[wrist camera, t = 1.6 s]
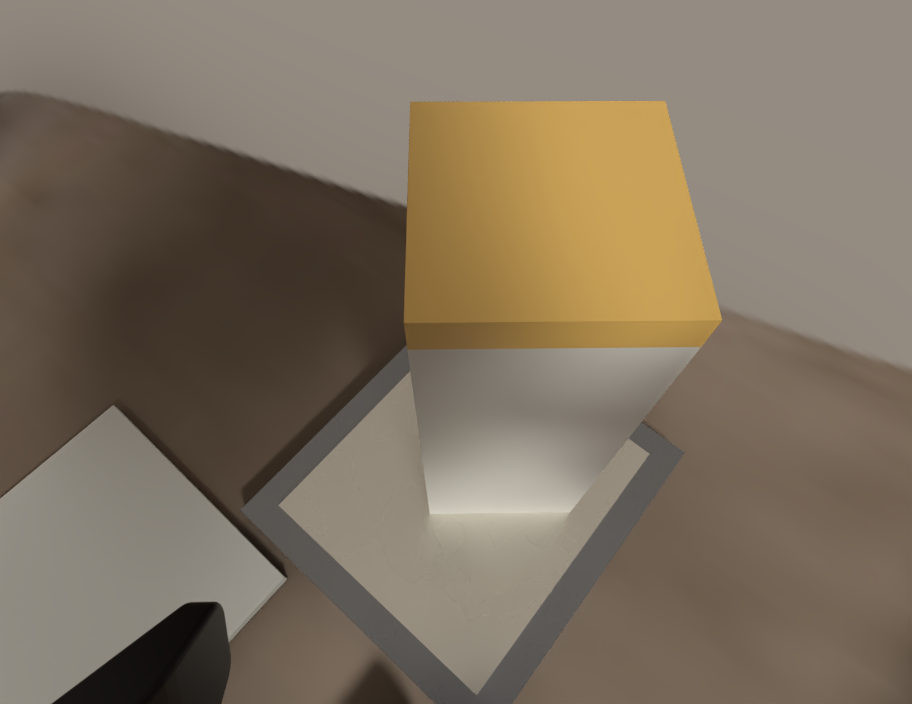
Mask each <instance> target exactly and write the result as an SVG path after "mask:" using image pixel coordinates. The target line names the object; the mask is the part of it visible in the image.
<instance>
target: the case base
mask: <svg viewBox="0 0 912 704" xmlns="http://www.w3.org/2000/svg"><path fill="white" fill-rule="evenodd" d="M683 454H684V452H683V451H682V450H680V449H679V448H677V447H676V446H675V445H673V444H672V443H670V442H669V441H667V440H666V439H665V438H663V437H662V436H660V435H659V434H658V433H656V432H655V431H653V430H652V429H651V428H649V427H648V426H646V425H645V424H644V423H642V422H641V423H640V425H639V426H638V427H637V428H636V430H635V431H634V432H633V433H632V435H631V436H630V437H629V438H628V440H627V441H626V442H625V444H624V445H623V446H622V447H621V449H620V450H619V451H618V452H617V454H616V455H615V456H614V457H613V459H612V460H611V461H610V462H609V464H608V465H607V466H606V467H605V469H604V470H603V471H602V473H601V474H600V475H599V476H598V478H597V479H596V480H595V481H594V483H593V484H592V485H591V486H590V488H589V489H588V490H587V491H586V493H585V494H584V495H583V496H582V498H581V499H580V500H579V502H578V503H577V504H576V505H575V507H574V508H573V509H572V510H571V512H537V513H463V514H430V513H429V506H428V498H427V491H426V483H425V476H424V469H423V461H422V454H421V447H420V439H419V432H418V424H417V417H416V410H415V402H414V395H413V388H412V380H411V373H410V365H409V358H408V351H407V345H406V346H405V347H404V348H403V349H402V350H401V351H400V352H399V353H398V354H397V355H396V356H395V357H394V358H393V359H392V360H391V361H390V362H389V363H388V364H387V365H386V366H385V367H384V368H383V369H382V370H381V371H380V372H379V373H378V374H377V375H376V376H375V377H374V378H373V379H372V380H371V381H370V382H369V383H368V384H367V385H366V386H365V387H364V388H363V389H362V390H361V391H360V392H359V393H358V394H357V395H356V396H355V397H354V398H353V399H352V400H351V401H350V402H349V403H348V404H347V405H346V406H344V407H343V408H342V409H341V410H340V411H339V412H338V413H337V414H336V415H335V416H334V417H333V418H332V419H331V420H330V421H329V422H328V423H327V424H326V425H325V426H324V427H323V428H322V429H321V430H320V431H319V432H318V433H317V434H316V435H315V436H314V437H313V438H312V439H311V440H310V441H309V442H308V443H307V444H306V445H305V446H304V447H303V448H302V449H301V450H300V451H299V452H298V453H297V454H296V455H295V456H294V457H293V458H292V459H291V460H290V461H289V462H288V463H287V464H286V465H285V466H284V467H283V468H282V469H281V470H280V471H279V472H278V473H277V474H276V475H275V476H274V477H273V478H272V479H271V480H270V481H269V482H268V483H267V484H266V485H265V486H264V487H263V488H262V489H261V490H260V491H259V492H258V493H257V494H256V495H255V496H254V497H253V498H252V499H251V500H250V501H249V502H248V503H247V504H246V505H245V506H244V507H243V508H242V509H241V511H242V512H243V513H244V514H245V515H246V516H247V517H248V518H249V519H250V520H251V521H252V522H253V523H254V524H255V525H256V526H257V527H258V528H259V529H260V530H261V531H262V532H263V533H264V534H265V535H266V536H267V537H268V538H269V539H270V540H271V541H272V542H273V543H274V544H275V545H276V546H277V547H278V548H279V549H280V550H281V551H282V552H283V553H284V554H285V555H286V556H287V557H288V558H289V559H290V560H291V561H292V562H293V563H294V564H295V565H296V566H297V567H298V568H299V569H300V570H301V571H302V572H303V573H304V574H305V575H306V576H307V577H308V578H309V579H310V580H311V581H312V582H313V583H314V584H315V585H316V586H317V587H318V588H319V589H320V590H321V591H322V592H323V593H324V594H325V595H326V596H327V597H328V598H329V599H330V600H331V601H332V602H333V603H334V604H335V605H336V606H337V607H338V608H339V609H340V610H342V611H343V612H344V613H345V614H346V615H347V616H348V617H349V618H350V619H351V620H352V621H353V622H354V623H355V624H356V625H357V626H358V627H359V628H360V629H361V630H362V631H363V632H364V633H365V634H366V635H367V636H368V637H369V638H370V639H371V640H372V641H373V642H374V643H375V644H376V645H377V646H378V647H379V648H380V649H381V650H382V651H383V652H384V653H385V654H386V655H387V656H388V657H389V658H390V659H391V660H392V661H393V662H394V663H395V664H396V665H397V666H398V667H399V668H400V669H401V670H402V671H403V672H404V673H405V674H406V675H407V676H408V677H409V678H410V679H411V680H412V681H413V682H414V683H415V684H416V685H417V686H418V687H419V688H420V689H421V690H422V691H423V692H424V693H425V694H426V695H427V696H428V697H429V698H430V699H431V700H432V701H433V702H434V703H435V704H512V703H513V701H514V700H515V699H516V697H517V696H518V694H519V693H520V691H521V690H522V688H523V687H524V685H525V684H526V683H527V681H528V680H529V678H530V677H531V675H532V674H533V672H534V671H535V669H536V668H537V667H538V665H539V664H540V662H541V661H542V659H543V658H544V656H545V655H546V653H547V652H548V651H549V649H550V648H551V646H552V645H553V643H554V642H555V640H556V639H557V637H558V636H559V635H560V633H561V632H562V630H563V629H564V627H565V626H566V624H567V623H568V621H569V620H570V619H571V617H572V616H573V614H574V613H575V611H576V610H577V608H578V607H579V605H580V604H581V603H582V601H583V600H584V598H585V597H586V595H587V594H588V592H589V591H590V589H591V588H592V587H593V585H594V584H595V582H596V581H597V579H598V578H599V576H600V575H601V573H602V572H603V571H604V569H605V568H606V566H607V565H608V563H609V562H610V560H611V559H612V557H613V556H614V555H615V553H616V552H617V550H618V549H619V547H620V546H621V544H622V543H623V541H624V540H625V539H626V537H627V536H628V534H629V533H630V531H631V530H632V528H633V527H634V525H635V524H636V523H637V521H638V520H639V518H640V517H641V515H642V514H643V512H644V511H645V509H646V508H647V507H648V505H649V504H650V502H651V501H652V499H653V498H654V496H655V495H656V493H657V492H658V491H659V489H660V488H661V486H662V485H663V483H664V482H665V480H666V479H667V478H668V476H669V475H670V473H671V472H672V470H673V469H674V467H675V466H676V464H677V463H678V462H679V460H680V459H681V457H682V456H683Z"/></svg>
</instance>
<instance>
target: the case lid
mask: <svg viewBox="0 0 912 704" xmlns="http://www.w3.org/2000/svg"><path fill="white" fill-rule="evenodd" d="M286 580H287V578H286V577H285V576H284V575H283V574H282V573H281V572H280V571H279V570H278V569H277V568H276V567H275V566H274V565H273V564H272V563H271V562H270V561H269V560H268V559H267V558H266V557H265V556H264V555H263V554H262V553H261V552H260V551H259V550H258V549H257V548H256V547H255V546H254V545H253V544H252V543H251V542H250V541H249V540H248V539H247V538H246V537H245V536H244V535H243V534H242V533H241V532H240V531H239V530H238V529H237V528H236V527H235V526H234V525H233V524H232V523H231V522H230V521H229V520H228V519H227V518H226V517H225V516H224V515H223V514H222V513H221V512H220V511H219V510H218V509H217V508H216V507H215V506H214V505H213V504H212V503H211V502H210V501H209V500H208V499H207V497H206V496H205V495H204V494H203V493H202V492H201V491H200V490H199V489H198V488H197V487H196V486H195V485H194V484H193V483H192V482H191V481H190V480H189V479H188V478H187V477H186V476H185V475H184V474H183V473H182V472H181V471H180V470H179V469H178V468H177V467H176V466H175V465H174V464H173V463H172V462H171V461H170V460H169V459H168V458H167V457H166V456H165V455H164V454H163V453H162V452H161V451H160V450H159V449H158V448H157V447H156V446H155V445H154V444H153V443H152V442H151V441H150V440H149V439H148V438H147V437H146V436H145V435H144V434H143V433H142V432H141V431H140V430H139V429H138V428H137V427H136V426H135V425H134V424H133V423H132V422H131V421H130V420H129V419H128V418H127V417H126V416H125V415H124V414H123V413H122V412H121V411H120V410H119V409H118V408H117V407H115V406H114V405H113V406H111V407H110V408H109V409H108V410H107V411H105V412H104V413H103V414H102V415H101V416H99V417H98V418H97V419H96V420H95V421H93V422H92V423H91V424H90V425H88V426H87V427H86V428H85V429H84V430H82V431H81V432H80V433H79V434H78V435H76V436H75V437H74V438H73V439H72V440H70V441H69V442H68V443H67V444H66V445H64V446H63V447H62V448H61V449H60V450H58V451H57V452H56V453H55V454H53V455H52V456H51V457H50V458H49V459H47V460H46V461H45V462H44V463H43V464H41V465H40V466H39V467H38V468H37V469H35V470H34V471H33V472H32V473H31V474H29V475H28V476H27V477H26V478H25V479H23V480H22V481H21V482H20V483H18V484H17V485H16V486H15V487H14V488H12V489H11V490H10V491H9V492H8V493H6V494H5V495H4V496H3V497H2V498H0V704H52V703H53V702H54V701H56V700H57V699H58V698H60V697H61V696H62V695H64V694H65V693H66V692H68V691H69V690H70V689H71V688H73V687H74V686H75V685H77V684H78V683H79V682H81V681H82V680H83V679H85V678H86V677H87V676H89V675H90V674H91V673H93V672H94V671H95V670H97V669H98V668H99V667H101V666H102V665H103V664H105V663H106V662H107V661H109V660H110V659H111V658H113V657H114V656H115V655H117V654H118V653H119V652H121V651H122V650H123V649H125V648H126V647H127V646H129V645H130V644H131V643H133V642H134V641H135V640H137V639H138V638H139V637H141V636H142V635H143V634H145V633H146V632H147V631H149V630H150V629H151V628H153V627H154V626H155V625H156V624H158V623H159V622H160V621H162V620H163V619H164V618H166V617H167V616H168V615H170V614H171V613H172V612H174V611H175V610H176V609H178V608H179V607H180V606H182V605H184V604H186V603H189V602H218V603H220V604H221V605H222V607H223V610H224V614H225V620H226V627H227V634H228V640H229V642H230V641H231V640H232V639H233V638H234V637H235V635H236V634H237V633H238V632H239V631H240V630H241V629H242V628H243V627H244V626H245V625H246V623H247V622H248V621H249V620H250V619H251V618H252V617H253V616H254V615H255V614H256V613H257V612H258V610H259V609H260V608H261V607H262V606H263V605H264V604H265V603H266V602H267V601H268V600H269V598H270V597H271V596H272V595H273V594H274V593H275V592H276V591H277V590H278V589H279V588H280V587H281V585H282V584H283V583H284V582H285V581H286Z"/></svg>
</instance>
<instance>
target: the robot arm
mask: <svg viewBox="0 0 912 704" xmlns="http://www.w3.org/2000/svg"><path fill="white" fill-rule="evenodd" d="M230 664H231V654H230V647H229V640H228V634H227V627H226V620H225V614H224V610H223V607H222V605H221V604H220V603H218V602H189V603H186V604H184V605H182V606H180V607H179V608H178V609H176V610H175V611H174V612H172V613H171V614H170V615H168V616H167V617H166V618H164V619H163V620H162V621H160V622H159V623H158V624H156V625H155V626H154V627H153V628H151V629H150V630H149V631H147V632H146V633H145V634H143V635H142V636H141V637H139V638H138V639H137V640H135V641H134V642H133V643H131V644H130V645H129V646H127V647H126V648H125V649H123V650H122V651H121V652H119V653H118V654H117V655H115V656H114V657H113V658H111V659H110V660H109V661H107V662H106V663H105V664H103V665H102V666H101V667H99V668H98V669H97V670H95V671H94V672H93V673H91V674H90V675H89V676H87V677H86V678H85V679H83V680H82V681H81V682H79V683H78V684H77V685H75V686H74V687H73V688H71V689H70V690H69V691H68V692H66V693H65V694H64V695H62V696H61V697H60V698H58V699H57V700H56V701H54V702H53V703H52V704H221V702H222V699H223V695H224V691H225V688H226V684H227V680H228V677H229V672H230Z"/></svg>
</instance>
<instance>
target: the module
mask: <svg viewBox="0 0 912 704" xmlns="http://www.w3.org/2000/svg"><path fill="white" fill-rule="evenodd" d="M408 165H409V166H408V197H407V231H406V265H405V298H404V328H405V336H406V343H407V351H408V358H409V365H410V373H411V380H412V388H413V395H414V402H415V410H416V417H417V424H418V432H419V439H420V447H421V454H422V461H423V469H424V476H425V483H426V491H427V498H428V506H429V513H430V514H463V513H537V512H571V510H572V509H573V508H574V507H575V505H576V504H577V503H578V502H579V500H580V499H581V498H582V496H583V495H584V494H585V493H586V491H587V490H588V489H589V488H590V486H591V485H592V484H593V483H594V481H595V480H596V479H597V478H598V476H599V475H600V474H601V473H602V471H603V470H604V469H605V467H606V466H607V465H608V464H609V462H610V461H611V460H612V459H613V457H614V456H615V455H616V454H617V452H618V451H619V450H620V449H621V447H622V446H623V445H624V444H625V442H626V441H627V440H628V438H629V437H630V436H631V435H632V433H633V432H634V431H635V430H636V428H637V427H638V426H639V425H640V423H641V422H642V421H643V420H644V418H645V417H646V416H647V415H648V413H649V412H650V411H651V409H652V408H653V407H654V406H655V404H656V403H657V402H658V401H659V399H660V398H661V397H662V396H663V394H664V393H665V392H666V391H667V389H668V388H669V387H670V386H671V384H672V383H673V382H674V380H675V379H676V378H677V377H678V375H679V374H680V373H681V372H682V370H683V369H684V368H685V367H686V365H687V364H688V363H689V362H690V360H691V359H692V358H693V357H694V355H695V354H696V353H697V351H698V350H699V349H700V348H701V346H702V345H703V344H704V343H705V341H706V340H707V339H708V338H709V336H710V335H711V334H712V333H713V331H714V330H715V329H716V328H717V326H718V325H719V324H720V322H721V321H722V318H721V314H720V310H719V306H718V302H717V298H716V295H715V291H714V287H713V283H712V279H711V276H710V272H709V268H708V264H707V260H706V256H705V252H704V248H703V244H702V241H701V237H700V233H699V229H698V225H697V221H696V218H695V214H694V210H693V206H692V202H691V198H690V194H689V191H688V187H687V183H686V179H685V175H684V171H683V167H682V164H681V160H680V156H679V152H678V148H677V144H676V141H675V137H674V133H673V129H672V125H671V121H670V117H669V114H668V110H667V106H666V103H665V101H572V102H571V101H568V102H565V101H564V102H563V101H560V102H559V101H548V102H546V101H543V102H410V131H409V164H408Z"/></svg>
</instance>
